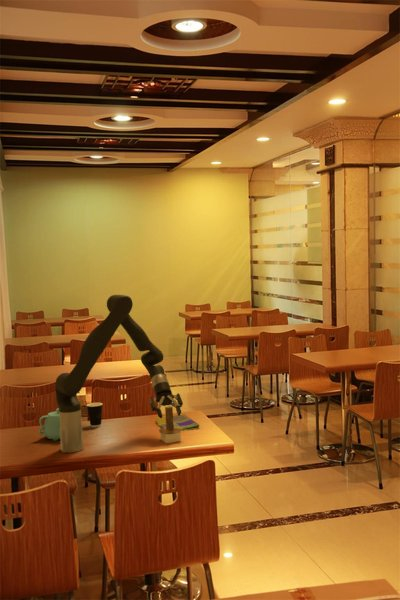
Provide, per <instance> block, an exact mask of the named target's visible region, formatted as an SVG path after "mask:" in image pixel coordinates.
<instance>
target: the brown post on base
mask: <svg viewBox="0 0 400 600" xmlns="http://www.w3.org/2000/svg"><path fill="white" fill-rule="evenodd" d="M164 408H165V409H164V411H165V413H164V415H165V417H166V427H165V428H159V433H160V434H161V433H162V434H175V433H178V432H182V431H181V428H179V427H174V425H173V416H174V413H173V412H174V410H173V409H174V407H173V406H171V405H168V406H164Z"/></svg>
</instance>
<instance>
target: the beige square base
mask: <svg viewBox="0 0 400 600" xmlns="http://www.w3.org/2000/svg"><path fill="white" fill-rule="evenodd" d="M181 432H182V431H180V432H178V433H175V434H162V433H160V440H161V441H162V442H164V443H165V444H169V443H175V442H181V441H182V437H181Z"/></svg>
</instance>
